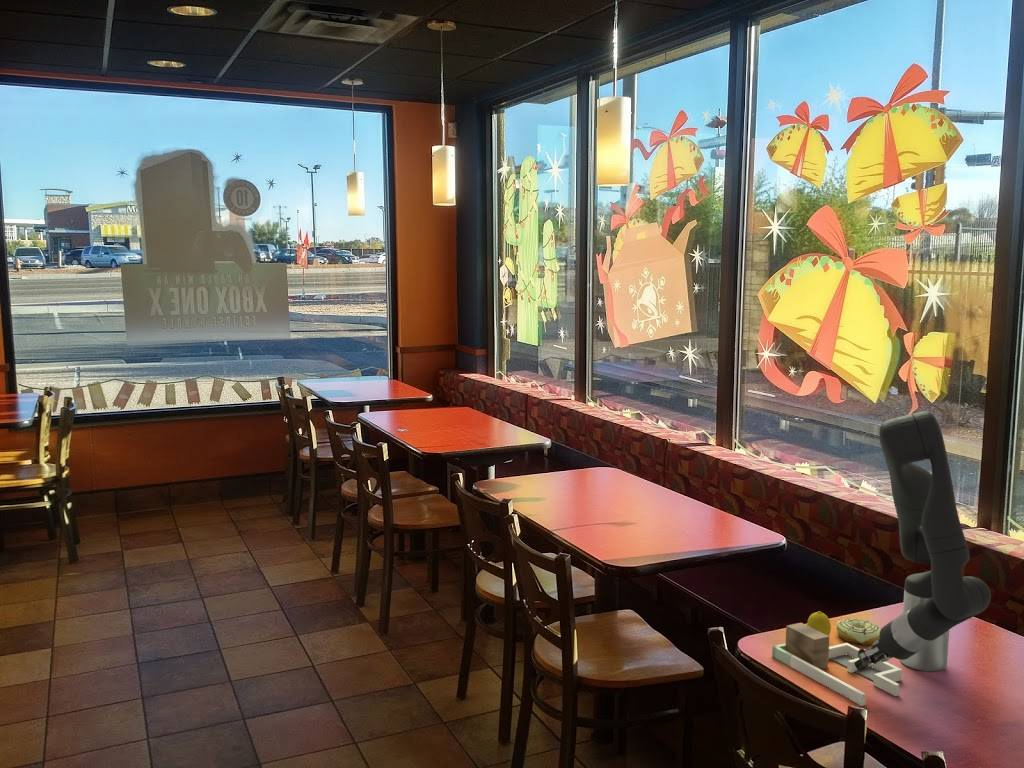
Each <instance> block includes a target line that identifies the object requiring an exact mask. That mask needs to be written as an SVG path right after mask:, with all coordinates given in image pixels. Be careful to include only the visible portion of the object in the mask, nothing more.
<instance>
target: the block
mask: <svg viewBox="0 0 1024 768" xmlns="http://www.w3.org/2000/svg"><path fill="white" fill-rule="evenodd" d="M785 643H786V646H785V651H787V652H789V653H791V654H793V655H794V656H796V657H798V658H800V659H802V660H804V661H806V662H808V663H809V664H811V665H813V666H815V667H817V668H819V669H821V668H823V669H826V667H827V668H828V667H829V665H828V664H829V659H828V652H829V647H830V635H829V636H828V635H825V634H823V633H821V632H819V631H817V630H815V629H813V628H811V627H809V626H807V624H804V623H803V622H798V623H792V624H789V625H787V624H786V626H785ZM821 670H822V669H821Z"/></svg>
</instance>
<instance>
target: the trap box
mask: <svg viewBox="0 0 1024 768" xmlns="http://www.w3.org/2000/svg"><path fill="white" fill-rule="evenodd" d="M860 649H861V648H858V647H856V646H855V645H852V644H850V643H849V642H843V643H840V644H836V645H830V646H829V652H828V660H831V661H833V662H834V661H835V663H836V662H837V663H836V664H838V665H840V664H841V665H840V666H842V665H843V666H842V667H844V666H845V667H844V668H846V670H847V672H848V673H850V674H851V673H856V674H857V675H859V676H861V675H862V676H861V677H863V676H864V677H863V678H866V679H867V678H868V680H869V679H870V680H869V681H871V682H872V683H873V684H872V685H873V686H874V687H876V688H878V689H880V690H882V691H885V692H886V693H888V694H890V695H892V696H894V697H898V696H900V686H901V685H900V683H897V682H899V681H902V672H903V669H902V668H900V667H898V666H895V664H894V665H893V664H891V663H889V662H888V661H886V662H880V663H878V664H877V665H873V666H871V667H870V668H868V669H866V670H865V671H861V672H859V671H858V670H857V668H856V666H855V664H854V663H855V662H856V661H857V660H859V657H858V651H859V650H860ZM846 654H847V655H846ZM852 657H853V658H852ZM854 658H855V659H854ZM789 667H791V668H793V669H794V670H796V671H798V672H800V673H801V674H803V675H805V676H807V677H808V678H810V679H812V680H814V681H816V682H818V683H819V684H821V683H822V684H821V685H823V686H825V687H826V686H827V687H826V688H828V687H829V688H828V689H830V690H832V691H834V692H835V691H836V692H835V693H837V692H838V694H839V693H840V695H841V694H842V695H841V696H843V695H844V696H845V697H844V696H843V697H844V698H846V697H847V698H846V699H848V698H849V699H848V700H849V701H851V702H854V703H855V704H857V705H859V706H860V707H863V706H865V705H866V696H867V695H866V693H865V692H863V691H861V690H860V689H858V688H856V687H854V686H852V685H850V684H849V683H846V682H844V681H842V680H841V679H839V678H837V677H836V676H834V675H831V674H830V673H827V672H825V671H824V670H823V669H819V668H817V667H815V666H813V665H811V664H809V663H808V662H806V661H804V660H802V659H800V658H798V657H796V656H794V655H793V656H791V659H790V666H789ZM872 667H873V668H872Z"/></svg>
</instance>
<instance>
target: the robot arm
mask: <svg viewBox="0 0 1024 768" xmlns="http://www.w3.org/2000/svg"><path fill="white" fill-rule="evenodd" d="M878 435H879V442H880V446H881V449H882V453H883V455H884V456H883V457H884V461H885V463H886V466H887V469H888V473H889V479H890V486H891V488H890V489H891V494H892V499H893V500H892V501H893V504H894V509H895V512H896V515H897V516H896V517H897V520H898V532H899V548H900V552H901V554H902V556H903V558H904V559H906V560H907V561H909V562H914V563H919V564H924V565H925V564H926V565H930V570H929V571H924V572H919V573H913V574H910V575H908V576H907V577H906V578H905V580H904V589H903V603H902V604H903V607H902V613H901V614H899V615H898V616H896V617H895V618H893V619H892V620H891V621H889V622H888V623H887V624H885V625H883V627H882V628H881V630H880V634H879V640H877V641H875V642H874V643H873V645H869V647H867V649H864V648H859V649H860V650H859V651H858V657H859V660H857V661H856V662H855V663H854V664H855V666H856V668H857V670H858V671H859V672H861V671H865V670H866V669H868V668H870V667H871V666H873V665H877V664H878V663H880V662H888V661H889V660H891V659H893V658H894V659H897V660H900V663H902V665H905V666H906V667H908V668H910V669H914V670H918V671H923V672H937V671H940V670H947V669H948V656H949V641H950V630H951V629H952V628H954V627H956V626H957V625H959V624H961V623H964V622H965V621H968V620H969V619H972V618H973V617H974V618H975V616H978V615H979V614H981V613H983V612H984V611H986V609H987V608H988V607H989V605H990V603H991V600H992V592H991V589H990V587H989V586H988V584H987V583H986V581H984V580H982V579H981V578H979V577H976V576H971V575H969V576H968V575H967V576H963V568H964V566H966V564H968V562H969V561H970V559H971V558H970V557H971V556H970V555H971V554H970V550H969V546H968V543H967V540H966V537H965V534H964V531H963V528H962V524H961V521H960V517H959V513H958V509H957V505H956V504H957V503H956V497H955V492H954V486H953V485H954V484H953V480H952V475H951V471H950V469H951V468H950V465H949V459H948V455H947V454H948V453H947V449H946V444H945V441H944V436H943V433H942V430H941V427H940V425H939V422H938V420H937V418H936V417H935V415H934V414H933V413H932V412H930V411H927V410H925V411H919V412H916V413H915V412H914V413H910V414H907V415H902V416H899V417H895V418H890V419H888V420H886V421H884V422H882V423H881V425H880V426H879V431H878ZM925 460H929V461H930V465H931V473H930V472H929V471H928V470H927V469H925V468H924V467H923V466H919V465H917V464H916V462H922V461H925Z"/></svg>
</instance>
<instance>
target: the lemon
mask: <svg viewBox="0 0 1024 768" xmlns="http://www.w3.org/2000/svg"><path fill="white" fill-rule="evenodd" d="M806 625H807V626H809V627H811V628H813V629H815V630H817V631H819V632H821V633H823V634H825V635H828V636H829V637H830V635H831V629H832V626H831V625H832V624H831V621H830V619H829V617H828V615H826V614H825V613H824V612H822V611H820V610H819V611H817V612H813V613H811V614H810V616H809V617H808V618H807V623H806Z"/></svg>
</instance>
